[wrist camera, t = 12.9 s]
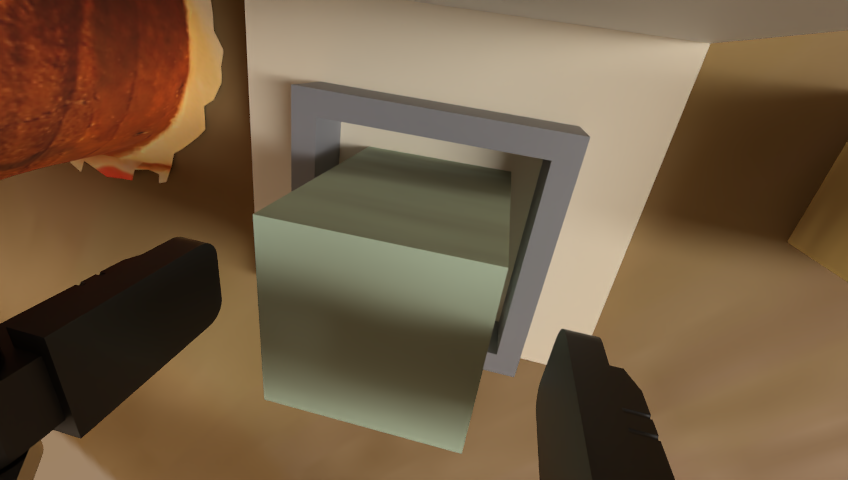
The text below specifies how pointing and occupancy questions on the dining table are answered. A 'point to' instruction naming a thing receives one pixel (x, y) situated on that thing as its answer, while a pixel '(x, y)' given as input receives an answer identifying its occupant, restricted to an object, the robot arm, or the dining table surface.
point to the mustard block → (827, 221)
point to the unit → (503, 116)
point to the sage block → (384, 292)
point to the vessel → (104, 83)
